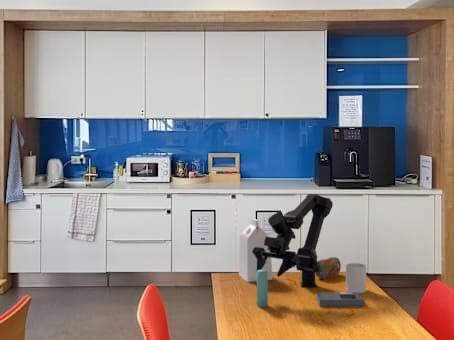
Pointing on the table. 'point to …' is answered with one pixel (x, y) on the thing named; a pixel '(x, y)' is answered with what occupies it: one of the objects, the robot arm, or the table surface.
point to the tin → (329, 268)
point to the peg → (262, 288)
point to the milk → (247, 260)
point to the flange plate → (340, 299)
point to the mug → (356, 277)
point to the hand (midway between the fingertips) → (267, 274)
